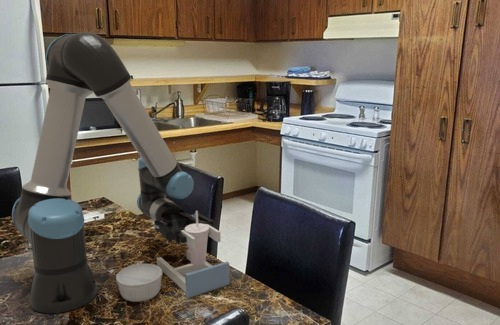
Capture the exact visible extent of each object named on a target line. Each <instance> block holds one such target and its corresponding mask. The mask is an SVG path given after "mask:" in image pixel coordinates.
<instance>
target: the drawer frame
mask: <svg viewBox="0 0 500 325" xmlns="http://www.w3.org/2000/svg"><path fill="white" fill-rule="evenodd" d="M186 259H187V260H188V261H189V262H191V259H190V253H189V249H186ZM156 265H157V266H159V267H160V268H161V269H162V273H164V274H165V275H166V276H167V277H168V278H169V279H170V280H171V281H172V282H174V283H175V285H177V286H178V287H179V288H180V289H181V290H182V291H183V292H184V293H185V297H186V298H187V299H190V298H192V297H196V296H199V295H202V294H204V293H207V292H211V291H215V290H216V289H220V288H223V287H226V286H229V285H230V262H229V261H225V262H221V263H218V264H214V265H212V264H211V263H210V262H208V261H207V260H206V261H205V264H203V265H200V266H195V265H192V264H191V263H188V264H185V265H181V266H177V267H173V266H172V265H170V263H168V262H167V261H166V260H165V259H164V258H163V257H161V256H159V257H156Z"/></svg>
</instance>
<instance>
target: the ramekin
mask: <svg viewBox="0 0 500 325" xmlns="http://www.w3.org/2000/svg"><path fill="white" fill-rule="evenodd" d="M163 273H164V272H163V271H162V269H161V268H160V267H159V266H157V264H153V263H152V264H151V263H136V264H133V265H128V266H126V267H124V268H123V269H120V271H118V273H116V275H115V281H116V282H115V283H116V284H117V286H118V290H119V294H120V296H121V298H123V299H124V300H126V301H129V302H131V303H137V302H138V303H139V302H145V301H149V300H151V299H153V298H154V297H156V296H157V295H158V294H159V292H160V291H161V286H162V278H163Z"/></svg>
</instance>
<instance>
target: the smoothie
mask: <svg viewBox="0 0 500 325" xmlns="http://www.w3.org/2000/svg"><path fill="white" fill-rule="evenodd" d="M195 212H196V224H190V225H188V226H186V227H184V231H186V232H187V233H189V234H190V235H192V236H193V237H194V238H196V249H192V248H191V247H189V246H188V245H187V247H188V250H189V253H190V259H191V261H190V264H192V265H195V266H200V265H203V264H205V261H207V259H206V258H207V248H208V239H209V236H208V232H209V226H208V225H206V224H201V223H198V212H199V211H198V210H195Z"/></svg>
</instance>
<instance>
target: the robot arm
mask: <svg viewBox="0 0 500 325" xmlns="http://www.w3.org/2000/svg"><path fill="white" fill-rule="evenodd" d="M45 62H46V65H47V72H46V76H45V83H46V84H47V85H48V87H49V89H50V90H49V94H48V100H47V104H46V109H45V111H44V112H45V113H44V116H43V117H44V118H43V122H42V127H41V131H40V135H39V141H38V144H37V151H36V154H35V159H34V164H33V168H32V174H31V179H30V180H29V181H28V182H27V183H25V184H23V185H22V189H21V194H20V196H19V198H18V199H17V200H16V201H15V202H14V204H13V207H12V209H11V210H12V211H11V219H12V222H13V225H14V227H15V229H16V230H17V232H19V233H20V235H22V236H23V237H24V238H25V240H26V241H27V242H28V243H29V244H30V246H31V253H32V261H33V267H34V274H33V280H32V283H31V284H32V285H31V288H30V290H29V294H28V296H29V297H28V298H29V305H30V307H31V309H33V310H34V311H36V312H39V313H43V314H59V313H60V314H61V313H66V312H70V311H73V310H76V309H79V308H82V307H83V306H85V305H87V304H89V303H90V302H91V301H92V300H93V299H94V298H95V297H96V296H97V293H98V288H97V280H96V279H95V277H94V275H93V272H92V270H91V268H90V266H89V264H88V257H87V256H88V255H87V246H86V245H87V244H86V233H85V232H86V230H85V215H84V213H83V208H82V206H81V205H80V203H78V202H77V201H75V200H73V199H71V195H72V192H71V190H70V189H69V188H68V181H69V175H70V171H71V167H72V162H73V158H74V154H75V150H76V144H77V139H78V134H79V130H80V125H81V120H82V117H83V112H84V107H85V102H86V98H87V97H88V96H91V95H92V94H94V95H95V97H97V98H100V99H102V100H103V101H104V103H105V104H106V106H107V107H108V109H109V110H110V112H111V114H112V115H113V116H114V119H115V120H116V121H117V123H118V124H119V126H120V128H121V129H122V131H123V132H124V133H125V135H126V136H127V138H128V139H129V141H130V143H131V144H132V146H133V147H134V150H136V151H137V153H138V155H139V158H138V169H137V171H138V177H139V188H140V193H139V194H138V196H137V200H136V205H137V207H138V210H140V212H141V213H142V214H143V215H145V216H147V217H148V218H150V219H151V220H153V222H154V231H155V232H158V233H159V234H161V235H162V237H164V238H165V240H167V241H168V242H172V241H174V240H175V243H176V244H180V243H181V244H185V245H187V247H188V246H189V247H191V248H192V249H196V238H194V237H193V236H192V235H190V234H189V233H187V232H186V231H185V229H184V228H185V227H186V226H188V225H190V224H196V211H195V212H194V213H193V214H190V213H187V212H185V211H184V209H183V207H182V206H180V205H179V204H176V203H175V202H174V201H172V200H170V199H169V198H167V196H168V197H170V198H174V199H177V200H183V199H186V198H187V197H189V196H190V194H191V193H192V192H193V189H194V187H195V186H194V184H195V182H194V179H193V177H192V175H190V174H189V173H188V172H186V171H183V170H182V169H181V167H180V164H178V161H177V160H176V159H175V157H174V155H173V154H172V151H171V150H170V148H169V146H168V145H167V143H166V142H165V140H164V138H163V136H162V134H161V133H160V131H159V130H158V128H157V127H156V125H155V123H154V121H153V119H152V118H151V116H150V115H149V113H148V111H147V110H146V108H145V106H144V105H143V103H142V101H141V99H140V98H139V96H138V95H137V92H136V91H135V89H134V88H133V86H132V84H131V81H132V76H131V74H130V73H129V71H128V69H127V67H126V66H125V64H124V62H123V61H122V59H121V58H120V56H119V55H118V53H117V52H116V50H115V49H114V48H113V46H112V45H111V44H110V43H109V42H108V41H107V40H106V39H105V38H104V37H101V36H100V35H98V34H95V33H94V32H87V31H85V32H84V31H82V32H77V33H66V34H63V35H61V36H59V37H57V38H55V39H54V40H53V41H52V42H51V43H49V45H48V47H47V49H46V53H45ZM198 223H201V224H206V225H208V226H209V232H208V238H211V239H212V240H213V241H215V242H216V243H221V231H220V230H218V229H217V228H216V222H215V220H214V219H212V218H209V217H207V216H205V215H203V214H201V213H200V211H198ZM180 228H183V230H181V229H180Z"/></svg>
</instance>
